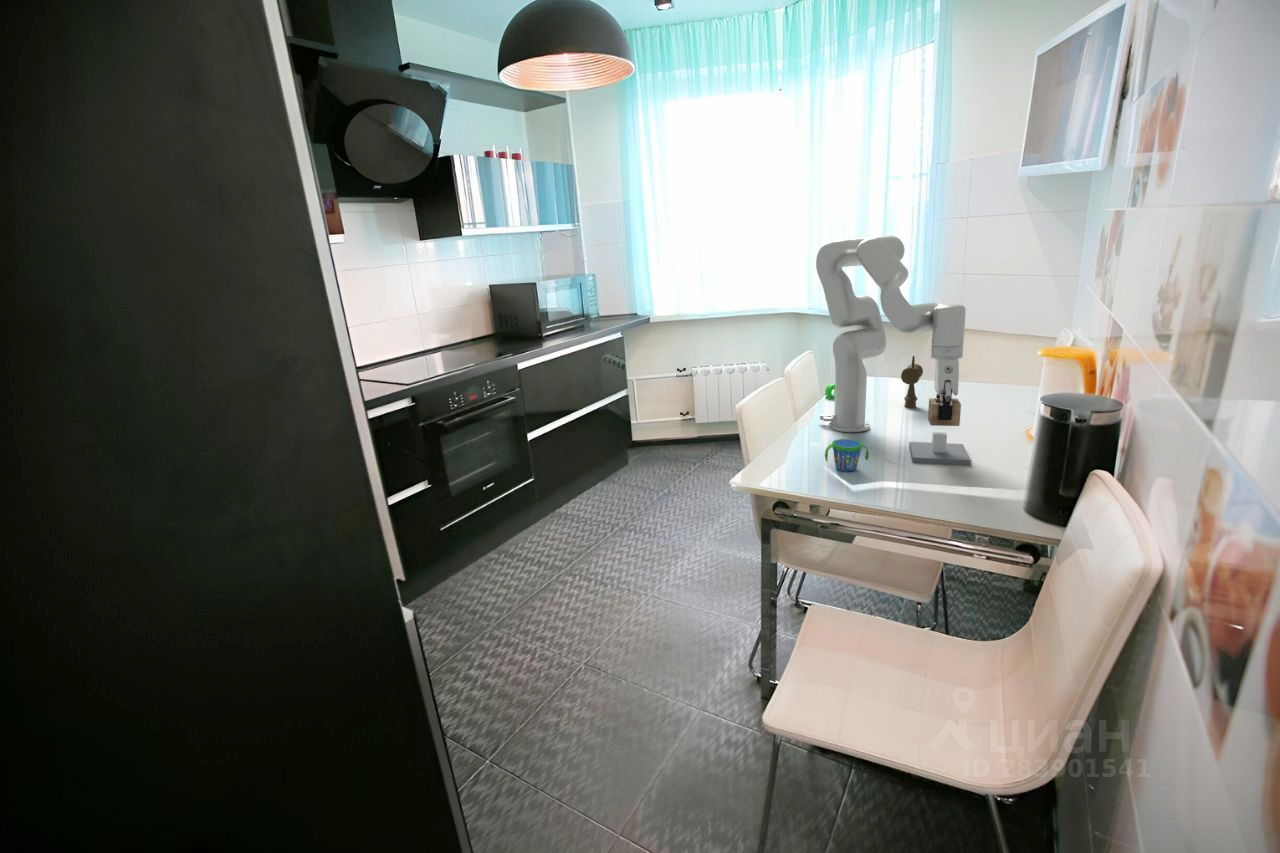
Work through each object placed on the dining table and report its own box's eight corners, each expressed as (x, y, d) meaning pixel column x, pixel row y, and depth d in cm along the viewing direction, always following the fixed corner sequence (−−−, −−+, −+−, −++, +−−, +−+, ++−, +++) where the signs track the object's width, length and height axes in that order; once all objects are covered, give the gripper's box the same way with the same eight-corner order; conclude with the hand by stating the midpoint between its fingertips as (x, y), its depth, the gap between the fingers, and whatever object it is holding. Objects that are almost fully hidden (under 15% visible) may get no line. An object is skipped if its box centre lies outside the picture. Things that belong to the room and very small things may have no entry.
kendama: (898, 413, 205) (901, 357, 199) (903, 407, 212) (906, 353, 207) (916, 415, 201) (920, 358, 196) (921, 408, 209) (925, 353, 204)
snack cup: (865, 463, 160) (866, 438, 158) (871, 473, 153) (872, 447, 151) (822, 464, 162) (822, 439, 160) (826, 474, 155) (827, 447, 153)
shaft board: (912, 462, 159) (914, 439, 157) (908, 446, 171) (910, 425, 169) (970, 465, 154) (972, 442, 152) (962, 448, 166) (964, 427, 165)
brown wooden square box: (930, 425, 157) (931, 404, 156) (927, 418, 164) (929, 398, 162) (959, 426, 155) (961, 404, 153) (955, 419, 161) (957, 398, 160)
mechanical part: (834, 408, 218) (835, 387, 216) (825, 404, 224) (825, 384, 221) (861, 403, 222) (862, 383, 220) (850, 400, 227) (851, 380, 225)
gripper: (968, 356, 145) (963, 425, 150) (957, 346, 161) (953, 408, 165) (934, 357, 148) (931, 424, 152) (927, 347, 163) (924, 408, 168)
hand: (942, 415), depth 159 cm, fingers closed on brown wooden square box, 7 cm apart
